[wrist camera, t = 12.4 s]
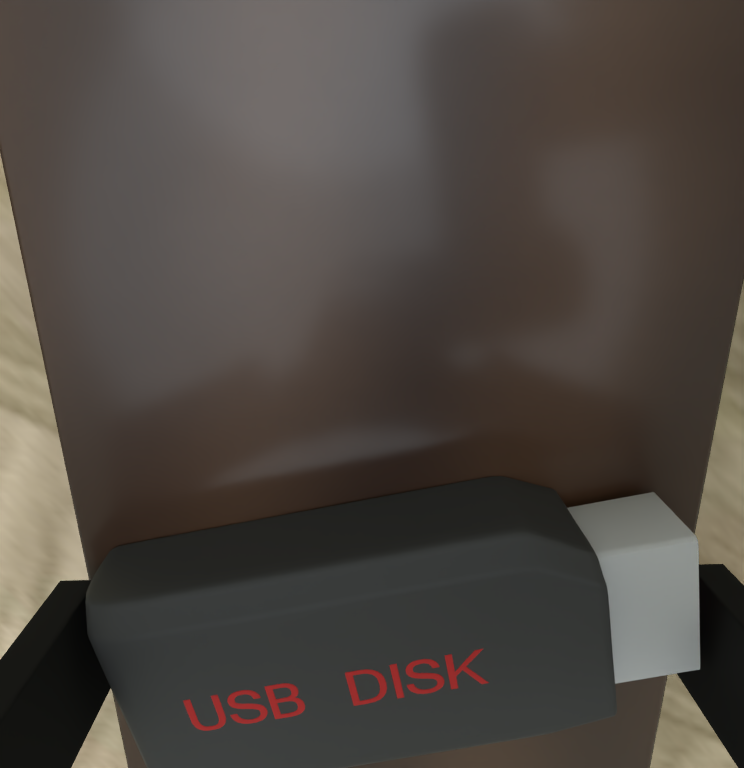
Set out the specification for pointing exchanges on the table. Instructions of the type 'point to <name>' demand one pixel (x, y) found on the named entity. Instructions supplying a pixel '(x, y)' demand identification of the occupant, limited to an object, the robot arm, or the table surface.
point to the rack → (379, 261)
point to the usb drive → (392, 625)
